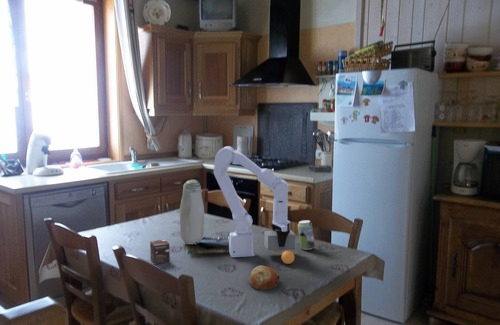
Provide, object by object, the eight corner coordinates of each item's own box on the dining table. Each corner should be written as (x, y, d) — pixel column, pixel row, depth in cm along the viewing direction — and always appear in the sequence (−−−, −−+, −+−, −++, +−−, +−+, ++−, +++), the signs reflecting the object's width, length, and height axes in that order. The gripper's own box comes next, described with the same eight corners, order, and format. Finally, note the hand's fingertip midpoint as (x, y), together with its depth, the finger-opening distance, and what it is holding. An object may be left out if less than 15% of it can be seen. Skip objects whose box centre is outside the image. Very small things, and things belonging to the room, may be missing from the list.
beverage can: (314, 251, 168) (315, 223, 166) (296, 250, 170) (297, 222, 168) (314, 246, 174) (315, 219, 173) (297, 245, 176) (298, 218, 174)
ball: (283, 266, 152) (283, 253, 152) (279, 261, 157) (280, 248, 156) (296, 265, 153) (296, 252, 152) (292, 260, 158) (292, 248, 157)
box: (154, 264, 152) (153, 246, 151) (150, 259, 158) (149, 241, 157) (170, 262, 155) (169, 243, 154) (165, 257, 160) (165, 239, 159)
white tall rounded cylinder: (202, 247, 171) (202, 182, 168) (178, 247, 171) (177, 182, 168) (205, 240, 181) (205, 178, 177) (182, 239, 181) (181, 178, 177)
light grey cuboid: (267, 250, 159) (268, 235, 158) (264, 245, 165) (264, 230, 165) (294, 249, 161) (295, 234, 160) (290, 244, 167) (290, 230, 167)
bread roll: (253, 287, 142) (243, 268, 141) (279, 275, 143) (270, 255, 141) (255, 301, 133) (245, 280, 131) (284, 287, 133) (274, 266, 132)
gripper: (295, 215, 155) (294, 249, 157) (285, 206, 169) (284, 237, 171) (277, 215, 154) (276, 250, 155) (268, 206, 168) (267, 238, 170)
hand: (279, 243), depth 163 cm, fingers closed on light grey cuboid, 6 cm apart
